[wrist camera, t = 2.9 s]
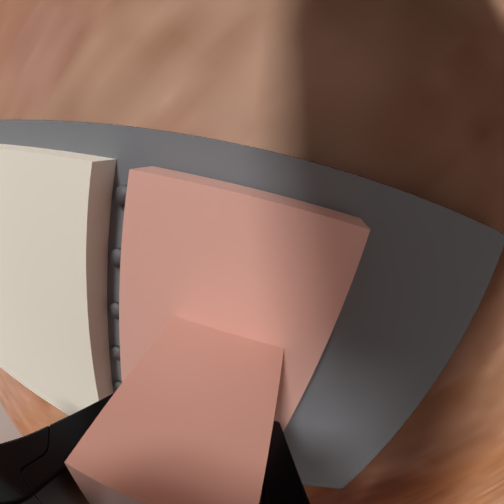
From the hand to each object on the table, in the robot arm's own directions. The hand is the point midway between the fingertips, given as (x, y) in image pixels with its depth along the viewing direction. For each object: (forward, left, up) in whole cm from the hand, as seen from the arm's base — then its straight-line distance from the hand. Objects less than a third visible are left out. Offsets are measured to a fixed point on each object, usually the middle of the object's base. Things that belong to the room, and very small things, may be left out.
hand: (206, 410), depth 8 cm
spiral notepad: (+10, 0, -2) cm, 10 cm away
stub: (0, 0, -2) cm, 2 cm away
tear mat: (+6, 0, -3) cm, 6 cm away
